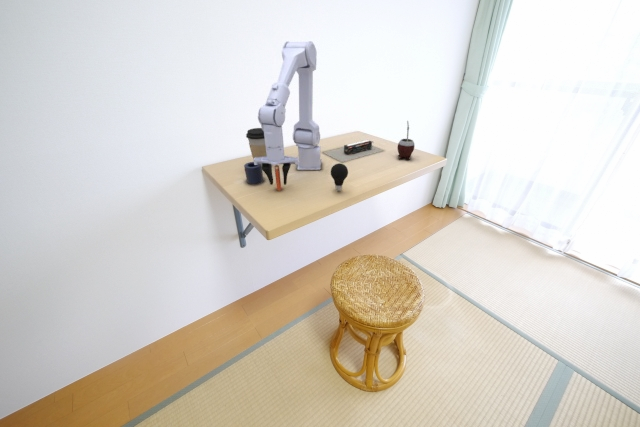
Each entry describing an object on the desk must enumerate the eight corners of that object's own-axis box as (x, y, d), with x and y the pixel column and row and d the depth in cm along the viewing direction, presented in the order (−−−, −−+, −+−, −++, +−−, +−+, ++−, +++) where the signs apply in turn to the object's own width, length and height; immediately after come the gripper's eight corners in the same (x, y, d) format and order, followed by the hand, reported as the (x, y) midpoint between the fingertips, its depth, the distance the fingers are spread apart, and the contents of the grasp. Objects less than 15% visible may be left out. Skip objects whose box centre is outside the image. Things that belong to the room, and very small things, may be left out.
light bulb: (334, 196, 87) (335, 168, 82) (327, 188, 92) (327, 162, 87) (350, 192, 89) (351, 165, 84) (342, 185, 94) (343, 159, 88)
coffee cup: (269, 171, 105) (264, 134, 97) (247, 170, 106) (241, 133, 98) (276, 163, 113) (273, 128, 104) (256, 161, 114) (251, 126, 106)
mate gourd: (405, 162, 113) (411, 126, 105) (391, 156, 118) (396, 123, 110) (415, 158, 116) (422, 124, 108) (401, 153, 122) (407, 120, 114)
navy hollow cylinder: (264, 177, 100) (262, 161, 97) (261, 184, 95) (259, 168, 92) (249, 177, 100) (246, 161, 97) (245, 184, 95) (242, 168, 92)
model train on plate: (382, 150, 125) (383, 142, 123) (341, 162, 113) (342, 152, 111) (362, 143, 135) (363, 134, 133) (323, 152, 123) (323, 143, 121)
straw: (281, 188, 92) (279, 164, 87) (281, 190, 91) (278, 166, 86) (277, 188, 92) (274, 164, 88) (276, 190, 91) (274, 166, 86)
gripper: (249, 149, 80) (255, 188, 87) (296, 149, 80) (298, 188, 87) (254, 142, 86) (259, 179, 93) (297, 142, 86) (299, 179, 93)
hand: (278, 183), depth 90 cm, fingers open, 4 cm apart
